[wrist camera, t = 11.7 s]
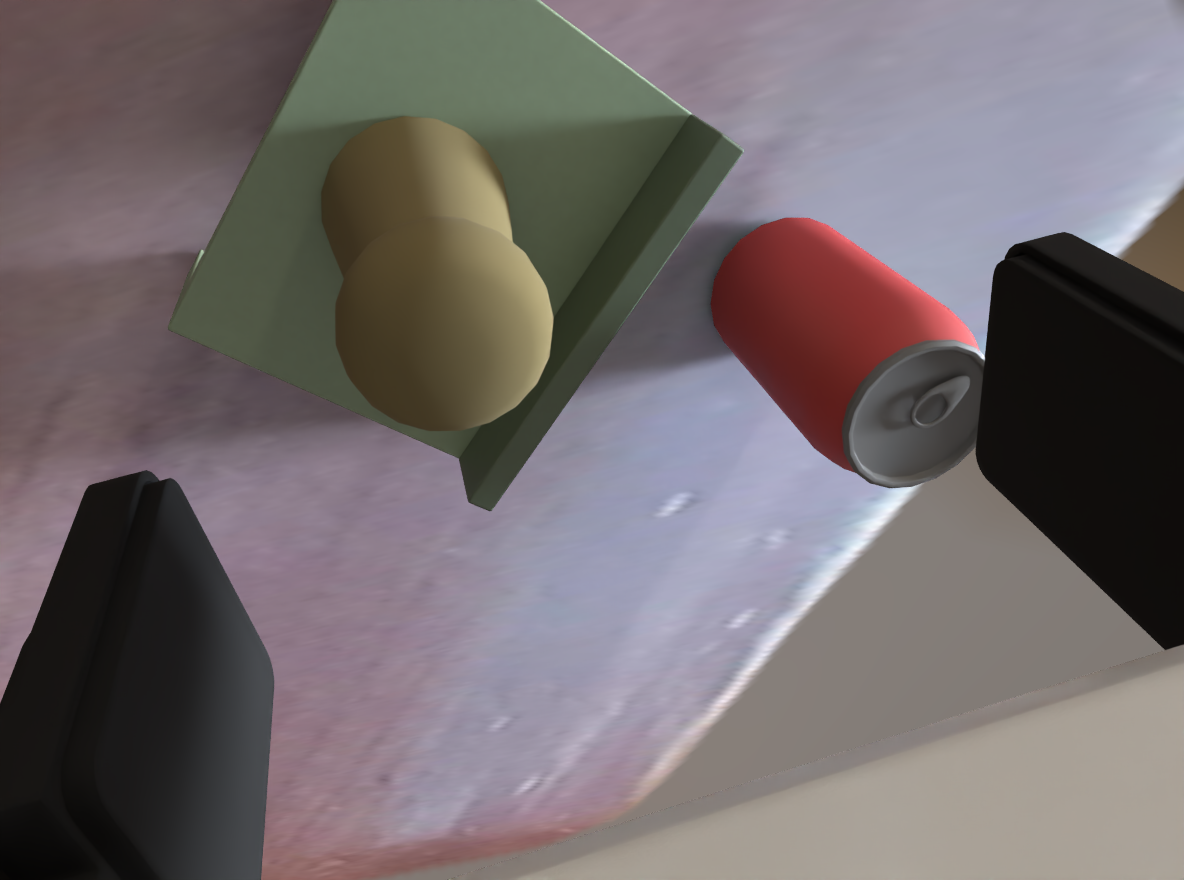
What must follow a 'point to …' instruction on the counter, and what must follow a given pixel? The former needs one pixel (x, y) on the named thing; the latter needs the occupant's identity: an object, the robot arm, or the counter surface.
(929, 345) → the beer can
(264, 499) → the counter surface
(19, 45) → the counter surface
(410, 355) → the cork
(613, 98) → the shelf
